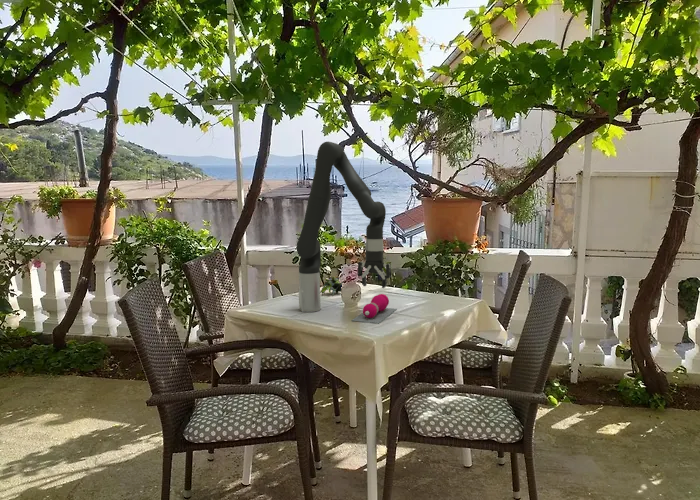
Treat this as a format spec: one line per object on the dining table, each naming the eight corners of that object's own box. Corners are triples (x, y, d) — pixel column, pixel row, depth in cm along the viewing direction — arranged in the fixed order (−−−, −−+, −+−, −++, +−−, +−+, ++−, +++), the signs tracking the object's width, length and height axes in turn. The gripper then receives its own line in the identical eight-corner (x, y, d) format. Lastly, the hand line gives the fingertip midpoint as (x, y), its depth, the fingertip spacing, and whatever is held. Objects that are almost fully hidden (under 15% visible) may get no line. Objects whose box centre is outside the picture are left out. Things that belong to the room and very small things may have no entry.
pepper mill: (376, 290, 228) (360, 302, 210) (391, 296, 226) (376, 309, 208) (372, 305, 230) (356, 318, 212) (387, 310, 228) (372, 324, 210)
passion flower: (336, 303, 266) (350, 284, 265) (333, 304, 255) (347, 284, 254) (319, 290, 267) (332, 271, 267) (315, 291, 256) (329, 271, 256)
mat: (379, 323, 207) (379, 322, 207) (351, 321, 211) (351, 320, 211) (397, 309, 229) (397, 308, 228) (371, 307, 233) (371, 306, 233)
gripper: (355, 249, 215) (355, 287, 217) (387, 251, 210) (387, 290, 212) (362, 247, 222) (361, 283, 224) (393, 249, 216) (392, 286, 219)
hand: (374, 286), depth 218 cm, fingers open, 8 cm apart
